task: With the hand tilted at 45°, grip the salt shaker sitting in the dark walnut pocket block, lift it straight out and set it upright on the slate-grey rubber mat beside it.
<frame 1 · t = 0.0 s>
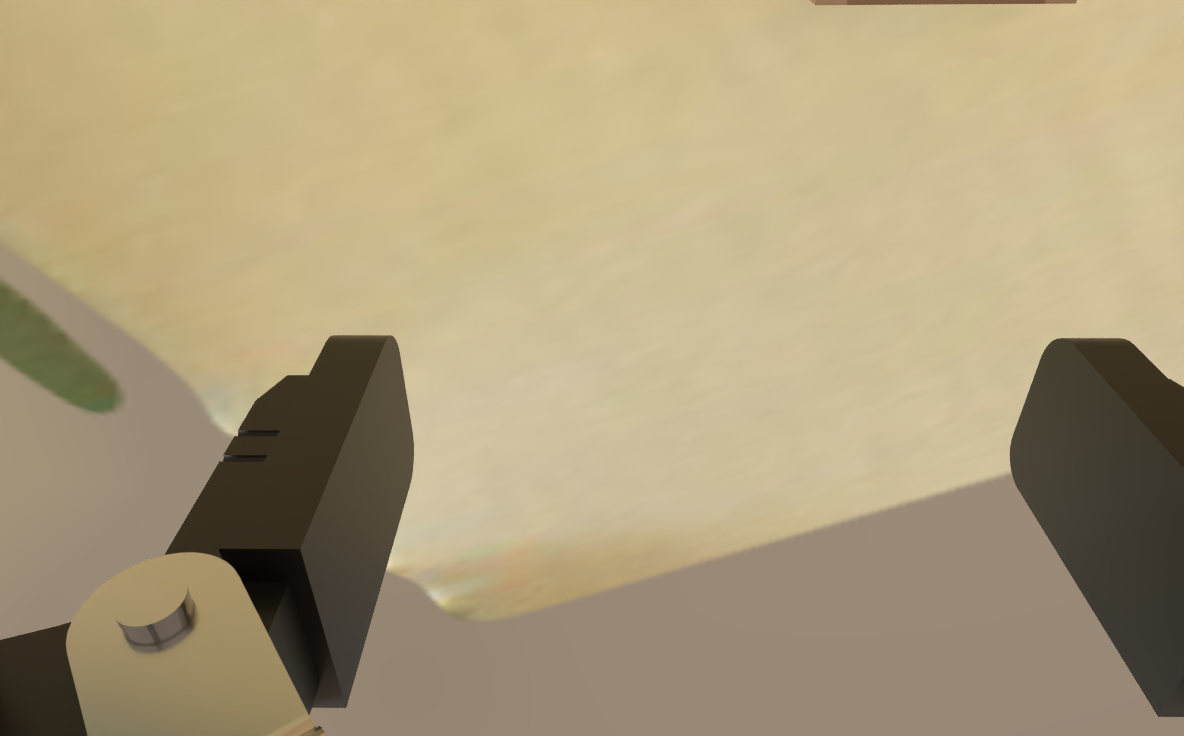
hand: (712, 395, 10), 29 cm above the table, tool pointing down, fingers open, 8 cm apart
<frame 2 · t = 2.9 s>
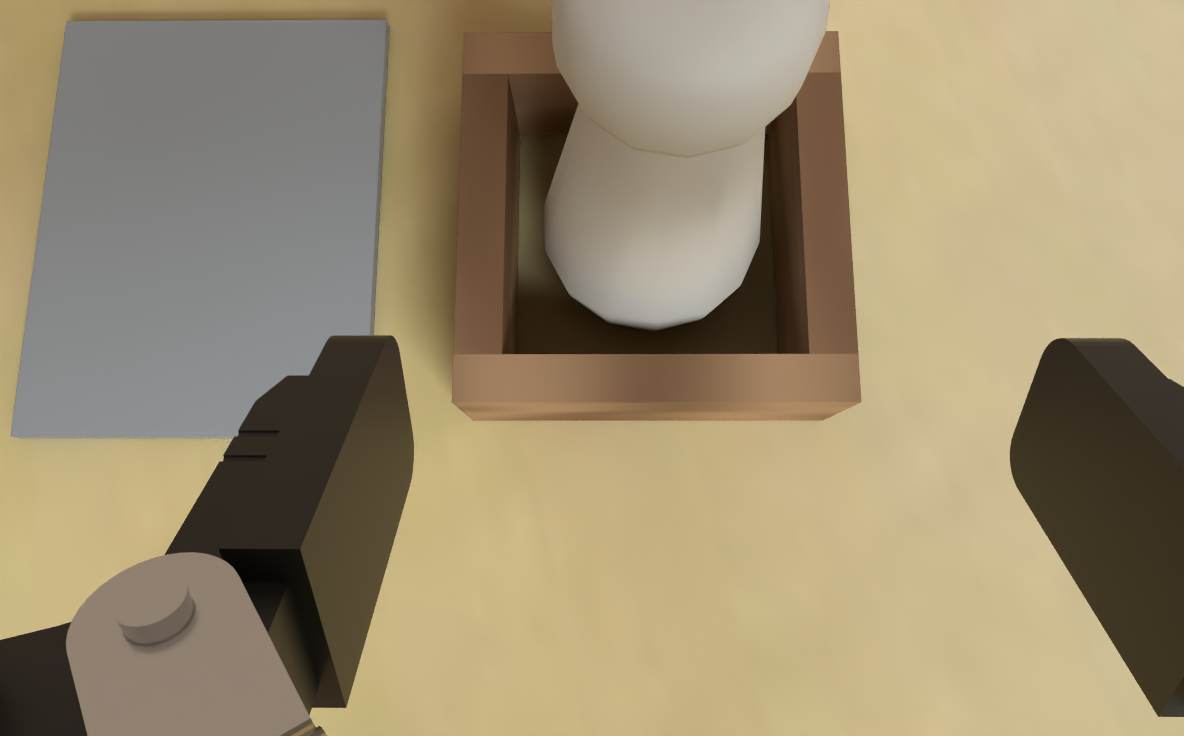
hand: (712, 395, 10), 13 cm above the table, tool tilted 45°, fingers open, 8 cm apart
salt shaker: (645, 255, 25), resting in pocket block
rubber mat: (213, 222, 25), on the table
pocket block: (645, 253, 24), on the table
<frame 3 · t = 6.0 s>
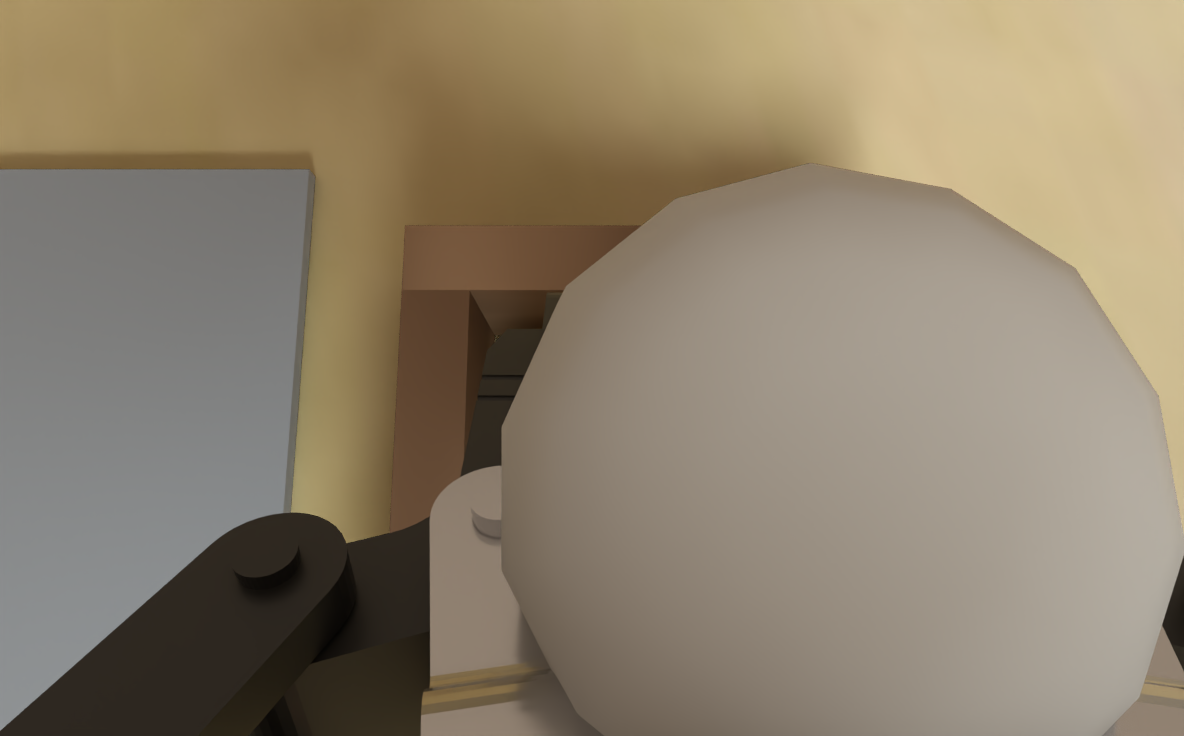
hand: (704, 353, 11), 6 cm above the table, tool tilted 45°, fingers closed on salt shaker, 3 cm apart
salt shaker: (669, 512, 17), resting in pocket block, touching gripper
rubber mat: (61, 461, 18), on the table
pocket block: (670, 512, 17), on the table
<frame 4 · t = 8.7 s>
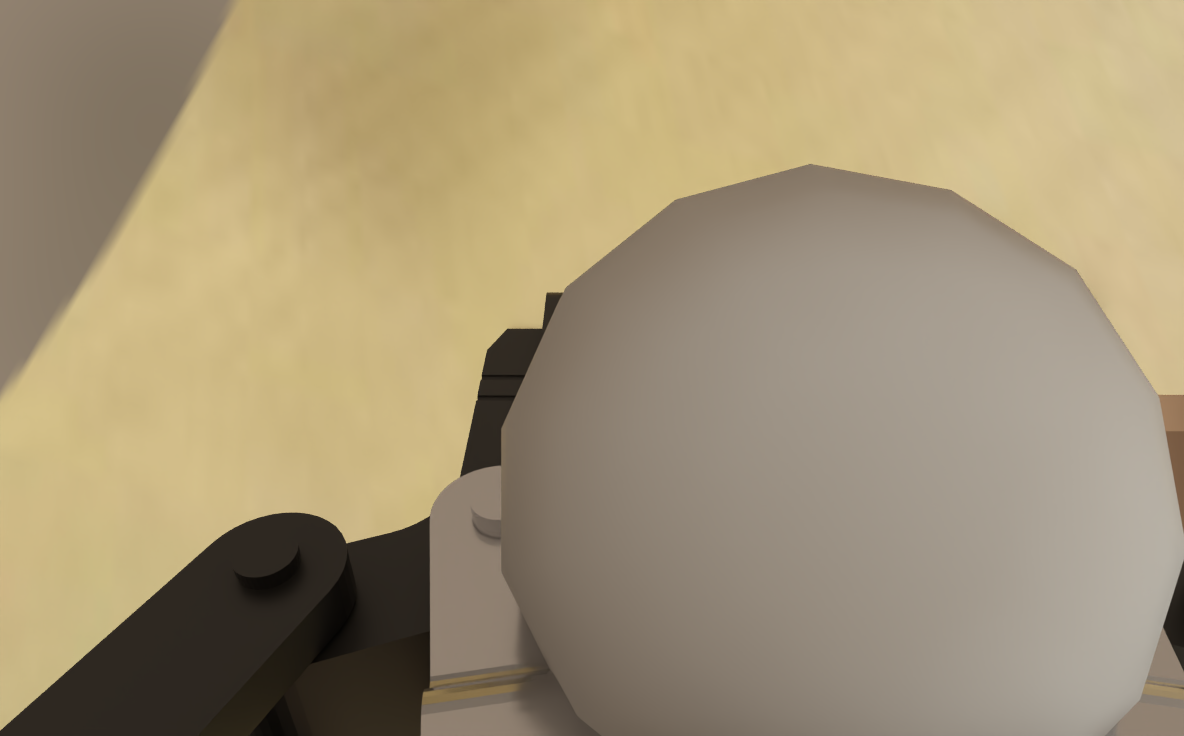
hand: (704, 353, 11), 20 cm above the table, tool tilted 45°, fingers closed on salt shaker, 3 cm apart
salt shaker: (669, 513, 17), point 13 cm above the table, touching gripper
pocket block: (1005, 545, 30), on the table
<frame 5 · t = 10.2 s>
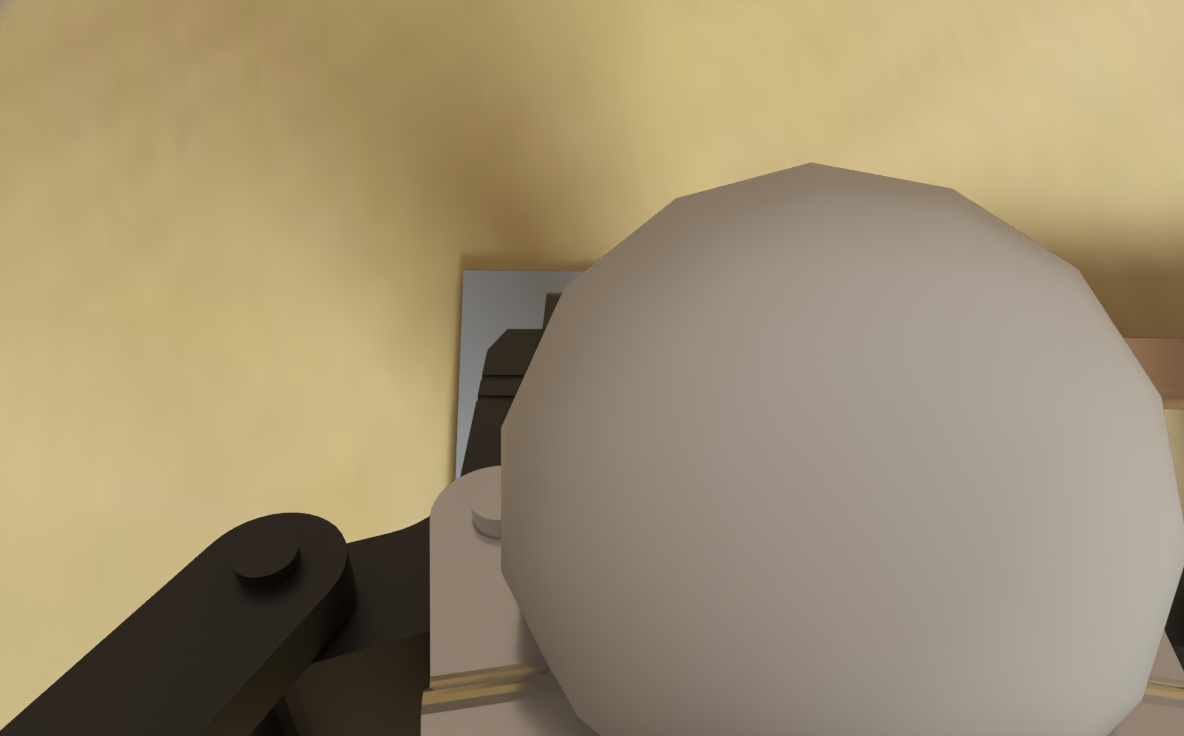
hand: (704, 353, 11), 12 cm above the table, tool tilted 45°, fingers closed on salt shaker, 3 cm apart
salt shaker: (669, 512, 17), point 5 cm above the table, touching gripper
rubber mat: (641, 507, 22), on the table
pocket block: (1126, 548, 22), on the table
when the fingers open (8 cm above the table, at t = 11.5 s): salt shaker drops 1 cm, resting on rubber mat.
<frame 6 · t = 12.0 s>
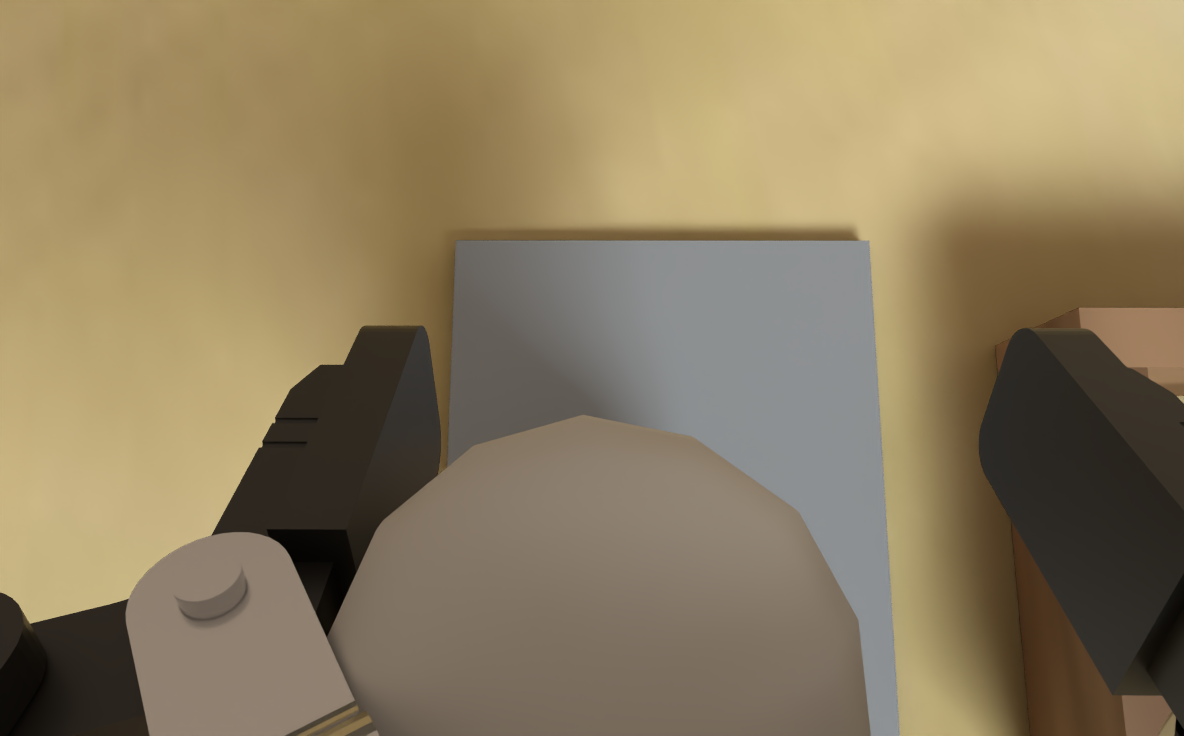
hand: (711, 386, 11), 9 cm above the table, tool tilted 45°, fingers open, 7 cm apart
salt shaker: (575, 573, 18), resting on rubber mat, touching gripper
rubber mat: (663, 513, 19), on the table
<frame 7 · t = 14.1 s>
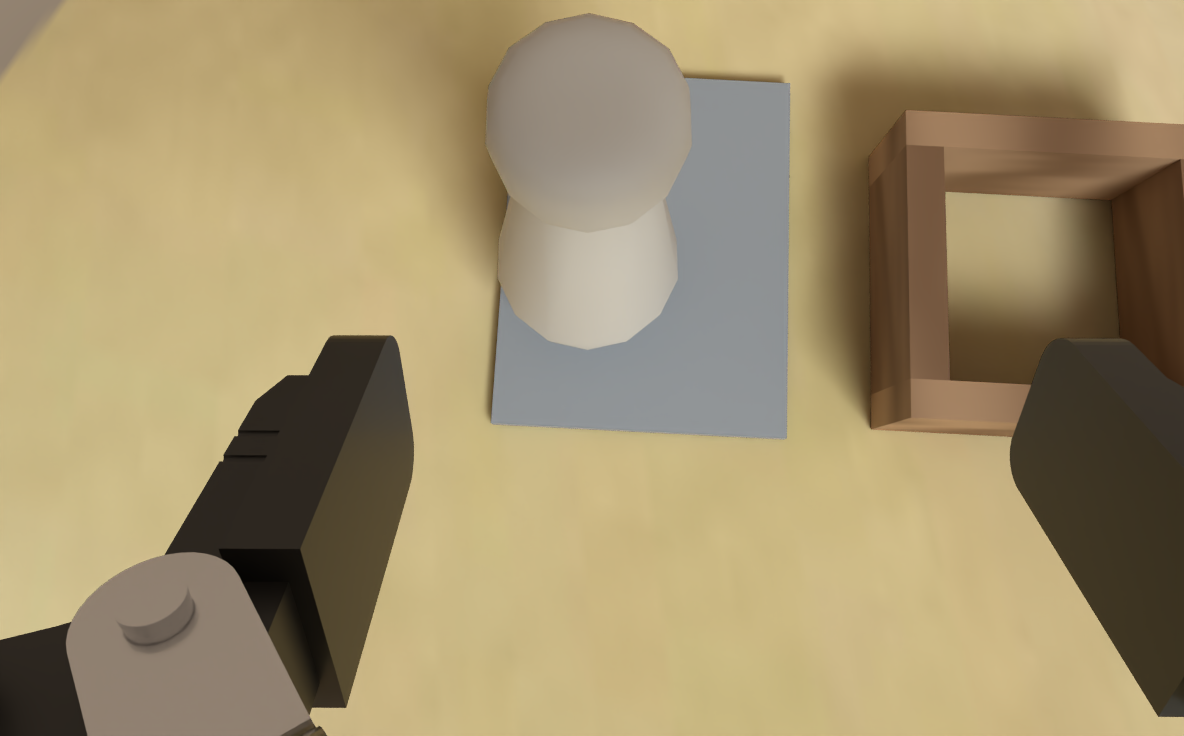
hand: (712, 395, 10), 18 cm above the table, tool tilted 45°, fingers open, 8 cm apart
salt shaker: (587, 282, 29), resting on rubber mat
rubber mat: (645, 250, 29), on the table
pocket block: (1010, 296, 29), on the table
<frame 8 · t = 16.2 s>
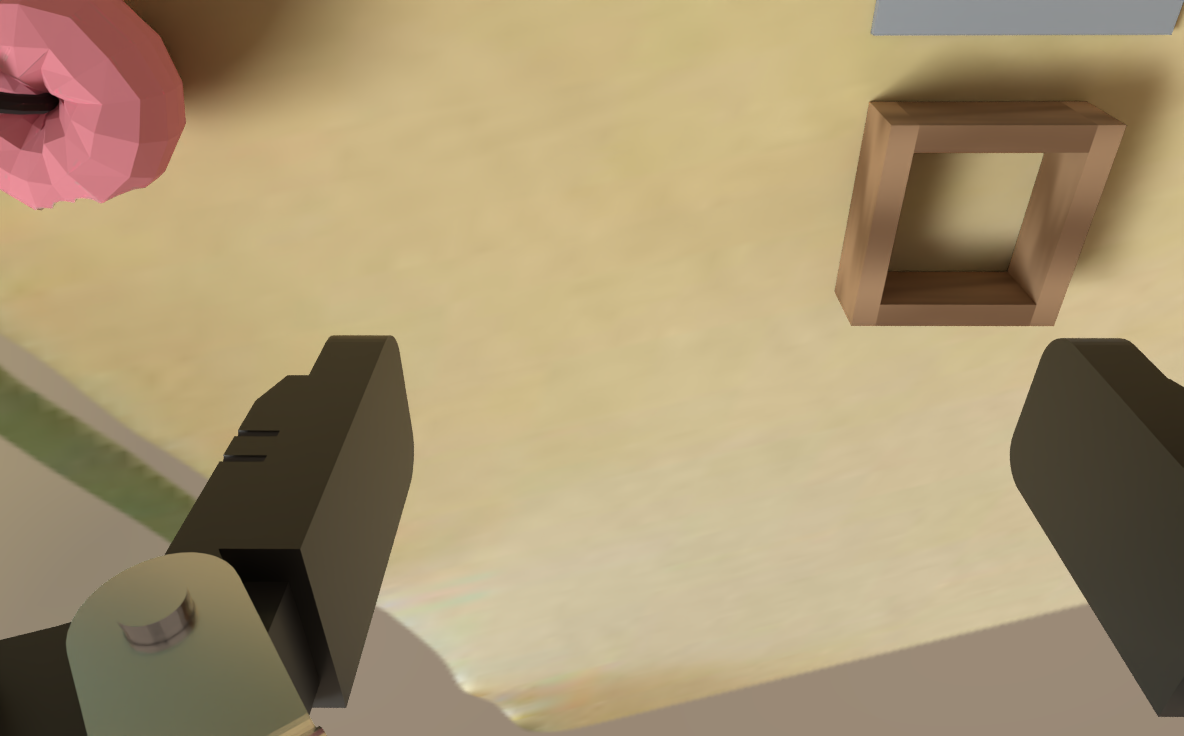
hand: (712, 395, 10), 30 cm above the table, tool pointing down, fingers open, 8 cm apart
pocket block: (951, 203, 41), on the table
apple: (129, 57, 37), on the table
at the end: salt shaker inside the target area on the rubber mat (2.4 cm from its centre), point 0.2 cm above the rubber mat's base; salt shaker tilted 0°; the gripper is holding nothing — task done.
